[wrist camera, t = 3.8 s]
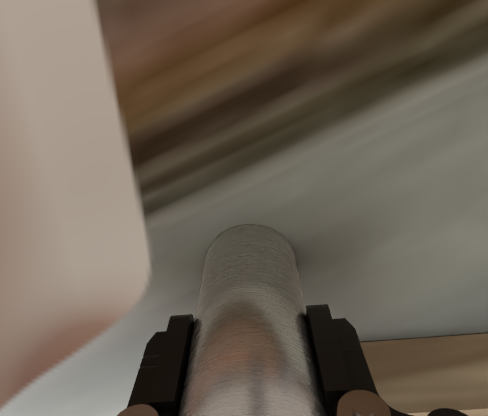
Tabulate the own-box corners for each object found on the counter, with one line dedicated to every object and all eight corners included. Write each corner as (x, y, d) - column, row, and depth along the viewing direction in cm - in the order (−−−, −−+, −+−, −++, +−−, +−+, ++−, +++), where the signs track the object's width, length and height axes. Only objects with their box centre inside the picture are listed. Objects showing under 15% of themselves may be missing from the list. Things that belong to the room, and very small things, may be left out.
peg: (198, 228, 17) (114, 593, 6) (292, 220, 17) (378, 581, 6) (211, 304, 19) (163, 694, 8) (297, 297, 19) (369, 688, 8)
